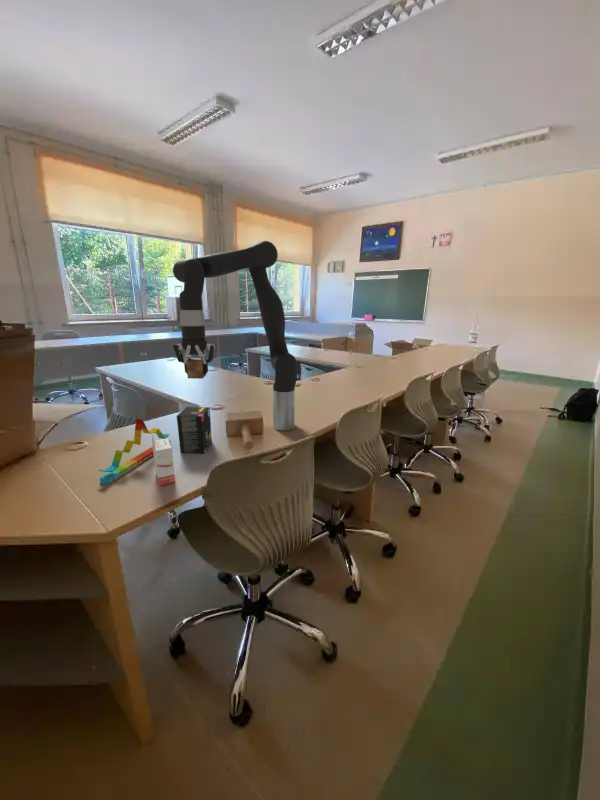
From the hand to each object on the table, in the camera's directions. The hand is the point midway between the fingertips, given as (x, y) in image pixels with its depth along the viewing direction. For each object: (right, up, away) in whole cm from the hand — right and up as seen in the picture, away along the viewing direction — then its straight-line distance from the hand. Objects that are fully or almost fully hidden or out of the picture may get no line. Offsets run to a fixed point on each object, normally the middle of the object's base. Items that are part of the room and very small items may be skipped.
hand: (196, 373), depth 117 cm
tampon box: (-4, -27, +12) cm, 30 cm away
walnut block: (0, -1, 0) cm, 1 cm away
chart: (-20, -31, 0) cm, 37 cm away
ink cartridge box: (-7, -34, -10) cm, 36 cm away
